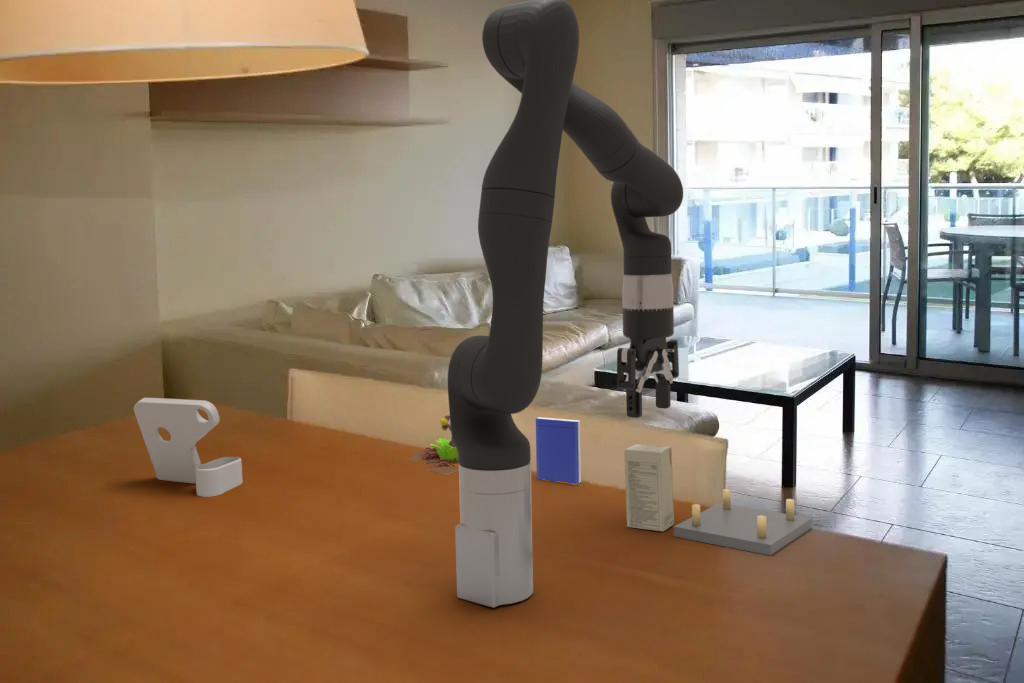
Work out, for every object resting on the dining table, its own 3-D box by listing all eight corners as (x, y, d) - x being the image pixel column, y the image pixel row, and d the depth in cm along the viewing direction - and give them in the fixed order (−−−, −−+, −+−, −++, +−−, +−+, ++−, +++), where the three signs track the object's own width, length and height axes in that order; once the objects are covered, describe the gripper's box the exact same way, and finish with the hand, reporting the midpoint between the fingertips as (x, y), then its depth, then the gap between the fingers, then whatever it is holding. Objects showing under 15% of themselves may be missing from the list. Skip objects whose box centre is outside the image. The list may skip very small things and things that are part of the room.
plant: (384, 471, 188) (382, 414, 186) (465, 455, 200) (464, 401, 199) (443, 490, 172) (441, 428, 171) (527, 472, 184) (526, 414, 183)
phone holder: (250, 492, 173) (245, 392, 171) (214, 507, 163) (208, 402, 161) (171, 485, 179) (165, 389, 177) (132, 500, 169) (125, 398, 167)
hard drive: (578, 492, 168) (576, 421, 166) (536, 487, 172) (534, 418, 170) (581, 490, 169) (580, 420, 168) (540, 485, 173) (538, 416, 172)
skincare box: (674, 525, 148) (674, 446, 146) (663, 533, 144) (663, 452, 143) (636, 519, 151) (635, 442, 150) (624, 526, 148) (623, 448, 146)
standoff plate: (770, 555, 133) (771, 523, 133) (673, 536, 142) (673, 506, 142) (811, 528, 145) (812, 498, 144) (719, 512, 154) (719, 484, 154)
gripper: (645, 309, 136) (646, 423, 138) (693, 301, 147) (694, 407, 149) (600, 308, 141) (602, 418, 143) (650, 300, 152) (651, 402, 154)
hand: (649, 412), depth 146 cm, fingers open, 8 cm apart
